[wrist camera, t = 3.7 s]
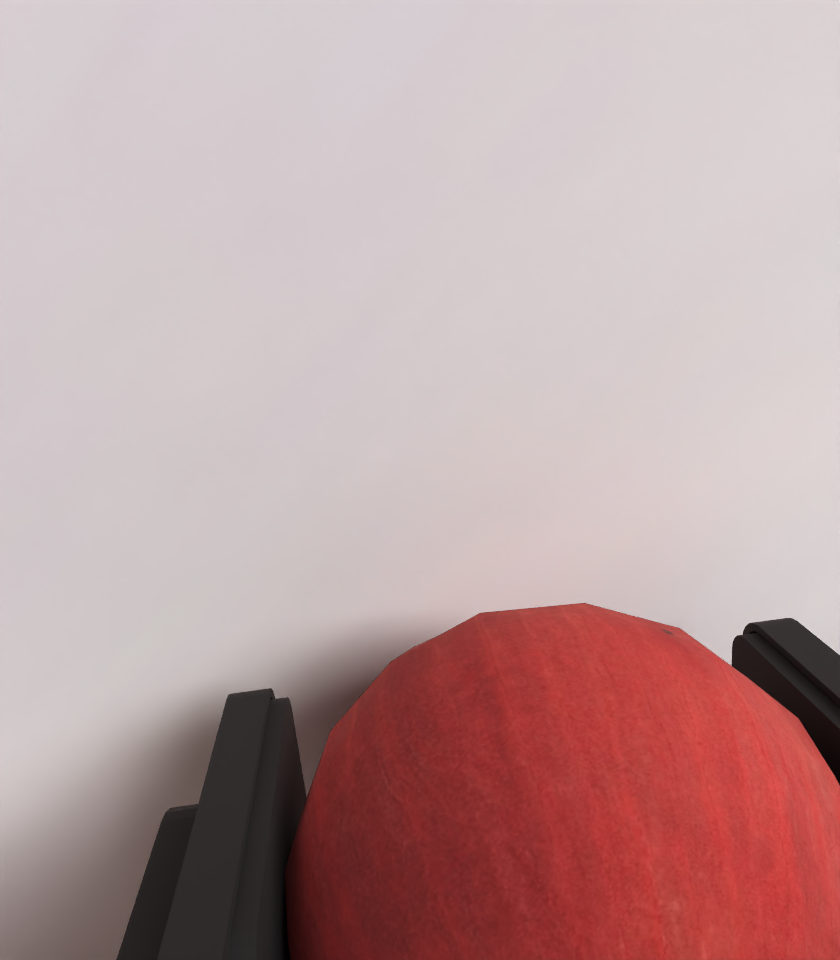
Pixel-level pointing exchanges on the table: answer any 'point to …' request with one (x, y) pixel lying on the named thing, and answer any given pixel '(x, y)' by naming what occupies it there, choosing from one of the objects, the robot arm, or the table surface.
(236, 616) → the table surface
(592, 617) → the onion
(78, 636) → the table surface
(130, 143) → the table surface
